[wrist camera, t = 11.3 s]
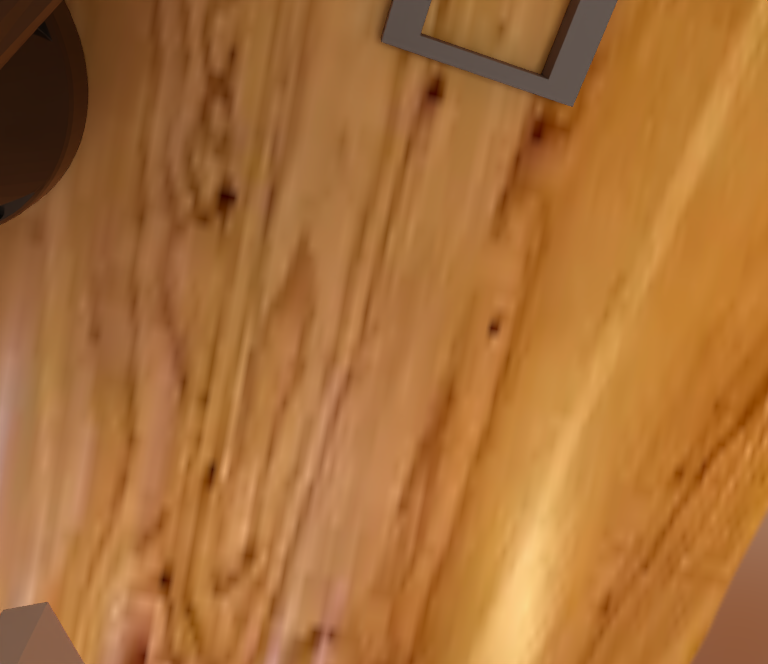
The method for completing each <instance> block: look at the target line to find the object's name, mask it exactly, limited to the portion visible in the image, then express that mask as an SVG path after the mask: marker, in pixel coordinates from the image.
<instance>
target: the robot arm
mask: <svg viewBox="0 0 768 664" xmlns="http://www.w3.org/2000/svg"><path fill="white" fill-rule="evenodd" d="M87 104H88V85H87V73H86V65H85V60H84V55H83V50H82V47H81V43H80V39H79V36H78V33H77V30H76V27H75V24H74V22H73V19H72V17H71V15H70V12H69V10H68V8H67V6H66V4H65V2H64V0H0V225H1V224H3V223H5V222H7V221H9V220H11V219H12V218H14V217H16V216H17V215H19V214H20V213H22V212H23V211H25V210H26V209H27V208H29V207H30V206H31V205H33V204H34V203H35V202H37V201H38V200H39V199H41V198H42V197H43V196H44V195H45V194H47V193H48V192H49V191H50V190H51V189H52V188H53V187H54V186H55V185H56V183H57V182H58V181H59V180H60V179H61V177H62V176H63V175H64V173H65V172H66V170H67V169H68V167H69V165H70V164H71V162H72V160H73V158H74V156H75V154H76V152H77V149H78V147H79V144H80V141H81V138H82V134H83V130H84V126H85V121H86V115H87ZM0 664H84V662H83V661H82V659H81V657H80V655H79V654H78V652H77V650H76V649H75V647H74V645H73V644H72V642H71V640H70V639H69V637H68V635H67V634H66V632H65V630H64V629H63V627H62V625H61V623H60V622H59V620H58V618H57V617H56V615H55V613H54V612H53V610H52V608H51V607H50V605H49V603H48V602H44V603H39V604H33V605H28V606H22V607H17V608H11V609H6V610H3V611H2V613H1V615H0Z"/></svg>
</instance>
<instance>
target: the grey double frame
mask: <svg viewBox="0 0 768 664" xmlns="http://www.w3.org/2000/svg"><path fill="white" fill-rule="evenodd" d="M430 3H431V0H392V2H391V5H390V9H389V12H388V16H387V19H386V22H385V26H384V29H383V32H382V36H381V42H383V43H386V44H389V45H392V46H395V47H398V48H401V49H404V50H407V51H410V52H412V53H415V54H418V55H421V56H424V57H427V58H430V59H433V60H436V61H439V62H442V63H445V64H448V65H451V66H454V67H457V68H460V69H462V70H465V71H468V72H471V73H474V74H477V75H480V76H483V77H486V78H489V79H492V80H495V81H498V82H501V83H504V84H507V85H510V86H512V87H515V88H518V89H521V90H524V91H527V92H530V93H533V94H536V95H539V96H542V97H545V98H548V99H551V100H554V101H557V102H560V103H563V104H565V105H568V106H571V107H573V105H574V102H575V100H576V98H577V95H578V93H579V90H580V88H581V86H582V83H583V81H584V79H585V76H586V74H587V71H588V69H589V67H590V64H591V62H592V60H593V57H594V55H595V53H596V50H597V48H598V45H599V43H600V41H601V38H602V36H603V34H604V31H605V29H606V26H607V24H608V22H609V19H610V17H611V15H612V12H613V10H614V7H615V5H616V3H617V0H571V1H570V4H569V6H568V9H567V11H566V14H565V16H564V19H563V21H562V24H561V26H560V29H559V31H558V34H557V36H556V39H555V42H554V44H553V47H552V49H551V52H550V54H549V57H548V59H547V62H546V64H545V67H544V69H543V72H542V74H538V73H535V72H532V71H529V70H526V69H523V68H520V67H517V66H514V65H512V64H509V63H506V62H503V61H500V60H497V59H494V58H491V57H488V56H485V55H483V54H480V53H477V52H474V51H471V50H468V49H465V48H462V47H459V46H456V45H454V44H451V43H448V42H445V41H442V40H439V39H436V38H433V37H430V36H427V35H425V34H422V33H421V31H422V28H423V25H424V22H425V18H426V15H427V12H428V9H429V6H430Z"/></svg>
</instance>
